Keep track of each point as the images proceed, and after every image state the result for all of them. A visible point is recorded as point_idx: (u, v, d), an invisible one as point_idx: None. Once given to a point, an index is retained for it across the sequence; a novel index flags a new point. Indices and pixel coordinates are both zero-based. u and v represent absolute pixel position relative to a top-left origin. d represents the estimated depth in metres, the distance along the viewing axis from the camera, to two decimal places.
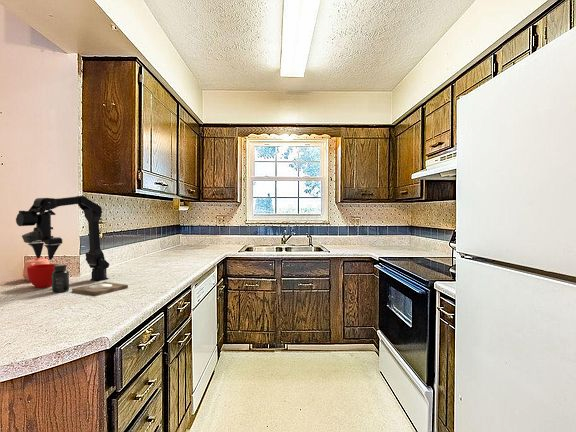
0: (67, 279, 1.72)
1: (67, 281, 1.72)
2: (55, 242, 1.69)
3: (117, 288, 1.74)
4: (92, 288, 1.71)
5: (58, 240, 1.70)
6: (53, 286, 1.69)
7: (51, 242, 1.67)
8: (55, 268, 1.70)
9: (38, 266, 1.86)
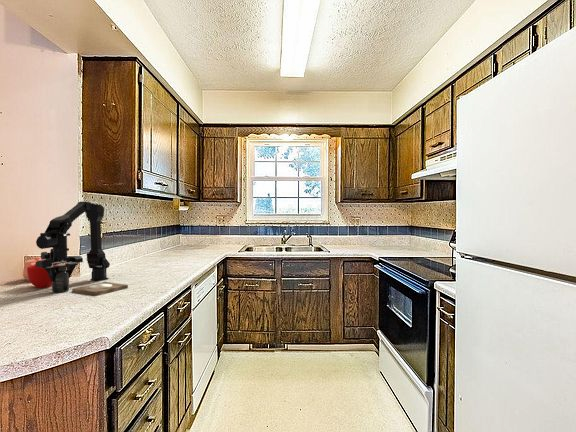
0: (67, 279, 1.72)
1: (67, 281, 1.72)
2: (38, 265, 1.64)
3: (117, 288, 1.74)
4: (92, 288, 1.71)
5: (40, 264, 1.63)
6: (53, 286, 1.69)
7: (36, 265, 1.65)
8: (55, 268, 1.70)
9: None
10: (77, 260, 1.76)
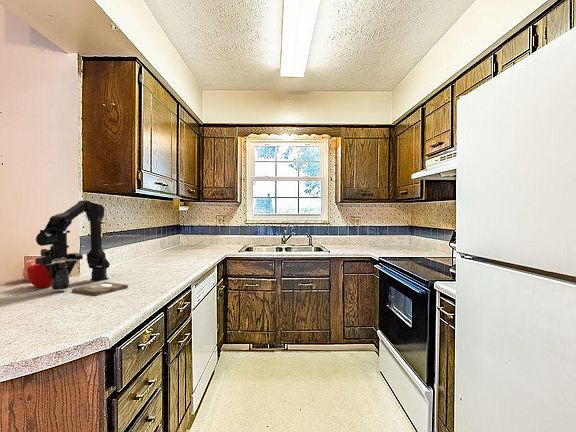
0: (67, 276, 1.72)
1: (67, 278, 1.72)
2: (38, 262, 1.64)
3: (117, 288, 1.74)
4: (92, 288, 1.71)
5: (40, 261, 1.63)
6: (53, 283, 1.69)
7: (36, 262, 1.65)
8: (55, 265, 1.70)
9: (38, 266, 1.86)
10: (77, 257, 1.76)
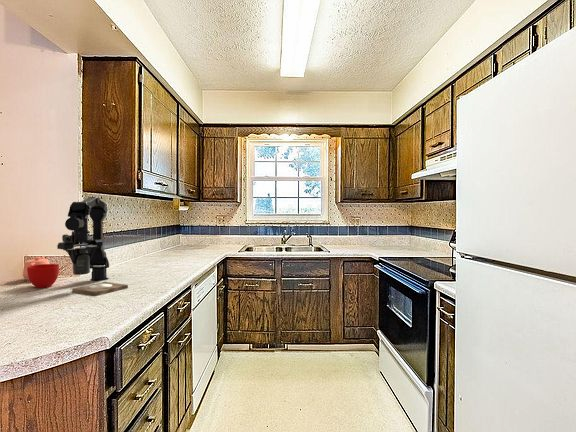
0: (88, 262, 1.73)
1: (88, 264, 1.73)
2: (60, 247, 1.65)
3: (117, 288, 1.74)
4: (92, 288, 1.71)
5: (62, 245, 1.65)
6: (74, 268, 1.71)
7: (57, 246, 1.66)
8: (76, 250, 1.71)
9: (38, 266, 1.86)
10: (97, 243, 1.77)
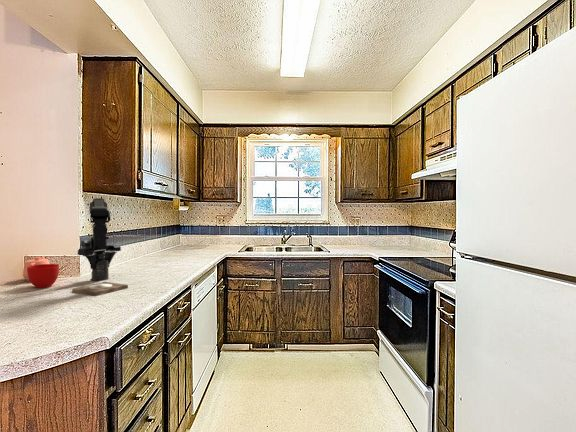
0: (107, 267, 1.75)
1: (107, 269, 1.75)
2: (80, 253, 1.67)
3: (117, 288, 1.74)
4: (92, 288, 1.71)
5: (82, 251, 1.66)
6: (94, 274, 1.72)
7: (78, 252, 1.67)
8: (96, 256, 1.73)
9: (38, 266, 1.86)
10: (116, 249, 1.79)
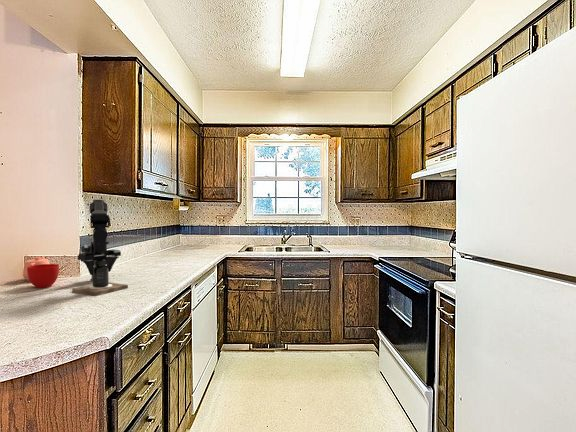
0: (107, 274, 1.75)
1: (107, 276, 1.75)
2: (80, 258, 1.67)
3: (117, 288, 1.74)
4: (92, 288, 1.71)
5: (82, 256, 1.66)
6: (94, 281, 1.72)
7: (78, 257, 1.68)
8: (96, 263, 1.73)
9: (38, 266, 1.86)
10: (116, 253, 1.79)
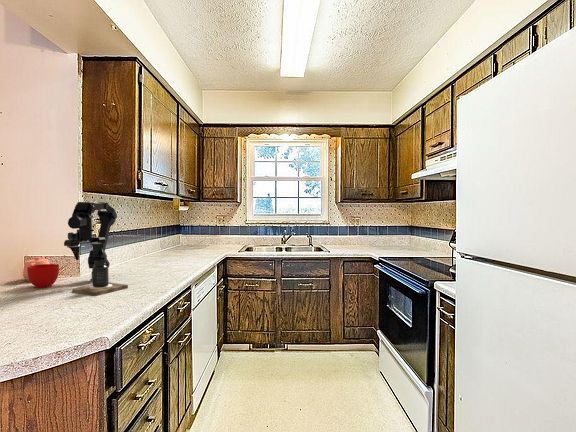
0: (107, 274, 1.75)
1: (107, 276, 1.75)
2: (67, 244, 1.77)
3: (117, 288, 1.74)
4: (92, 288, 1.71)
5: (68, 243, 1.76)
6: (94, 281, 1.72)
7: (64, 244, 1.78)
8: (96, 263, 1.73)
9: (38, 266, 1.86)
10: (101, 240, 1.90)
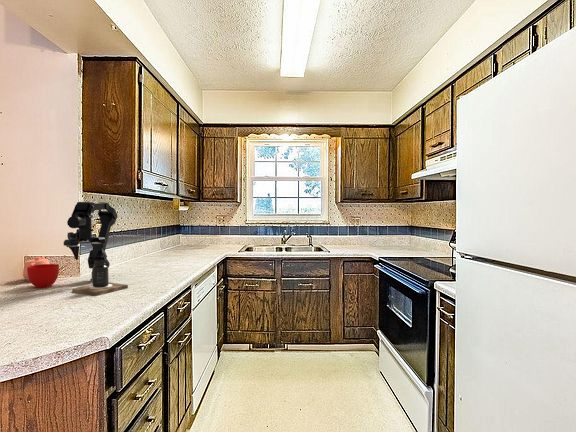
0: (107, 274, 1.75)
1: (107, 276, 1.75)
2: (66, 244, 1.77)
3: (117, 288, 1.74)
4: (92, 288, 1.71)
5: (68, 242, 1.77)
6: (94, 281, 1.72)
7: (64, 243, 1.78)
8: (96, 263, 1.73)
9: (38, 266, 1.86)
10: (100, 240, 1.90)
